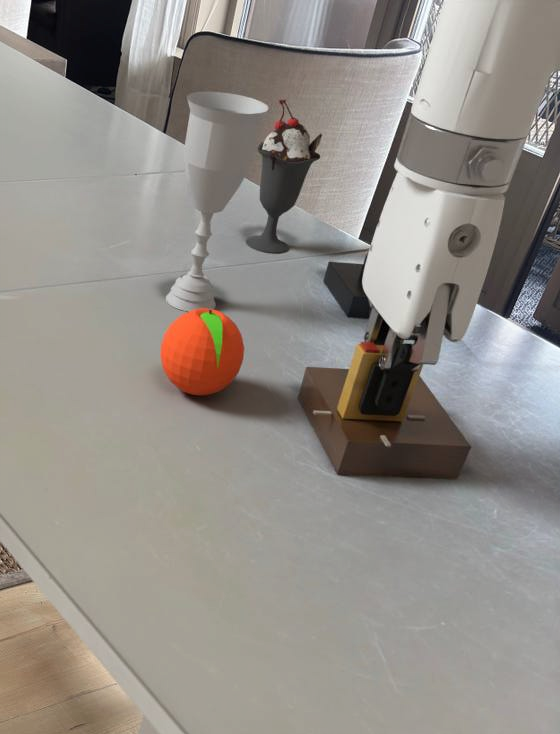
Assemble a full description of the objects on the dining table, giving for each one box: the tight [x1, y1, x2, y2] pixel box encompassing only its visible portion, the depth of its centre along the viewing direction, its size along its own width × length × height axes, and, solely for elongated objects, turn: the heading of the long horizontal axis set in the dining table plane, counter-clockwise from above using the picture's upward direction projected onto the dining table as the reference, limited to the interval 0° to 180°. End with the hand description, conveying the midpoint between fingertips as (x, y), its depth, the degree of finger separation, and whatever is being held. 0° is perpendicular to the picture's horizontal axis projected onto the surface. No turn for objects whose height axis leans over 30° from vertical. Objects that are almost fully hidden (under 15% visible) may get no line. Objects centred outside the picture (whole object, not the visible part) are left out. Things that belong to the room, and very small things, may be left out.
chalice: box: [165, 91, 270, 312], centre depth 91 cm, size 7×7×18 cm
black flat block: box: [322, 251, 371, 320], centre depth 101 cm, size 10×9×4 cm
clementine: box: [160, 308, 245, 396], centre depth 81 cm, size 8×7×7 cm
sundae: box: [245, 99, 323, 254], centre depth 106 cm, size 7×7×15 cm
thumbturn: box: [337, 341, 424, 421], centre depth 75 cm, size 5×2×6 cm, turn 95°
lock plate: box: [297, 366, 472, 480], centre depth 79 cm, size 12×13×3 cm
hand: (373, 404), depth 76 cm, fingers closed on thumbturn
